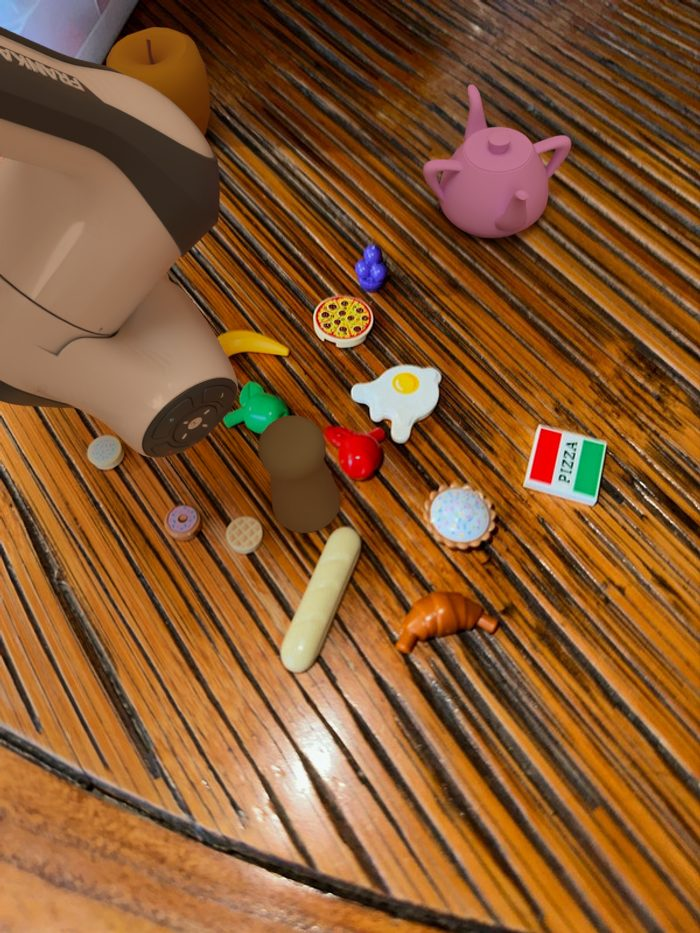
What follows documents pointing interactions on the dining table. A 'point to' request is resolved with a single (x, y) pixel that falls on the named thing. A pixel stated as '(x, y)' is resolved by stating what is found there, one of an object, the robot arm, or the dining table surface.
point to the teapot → (494, 177)
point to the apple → (166, 69)
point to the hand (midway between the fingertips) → (16, 163)
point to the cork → (298, 474)
